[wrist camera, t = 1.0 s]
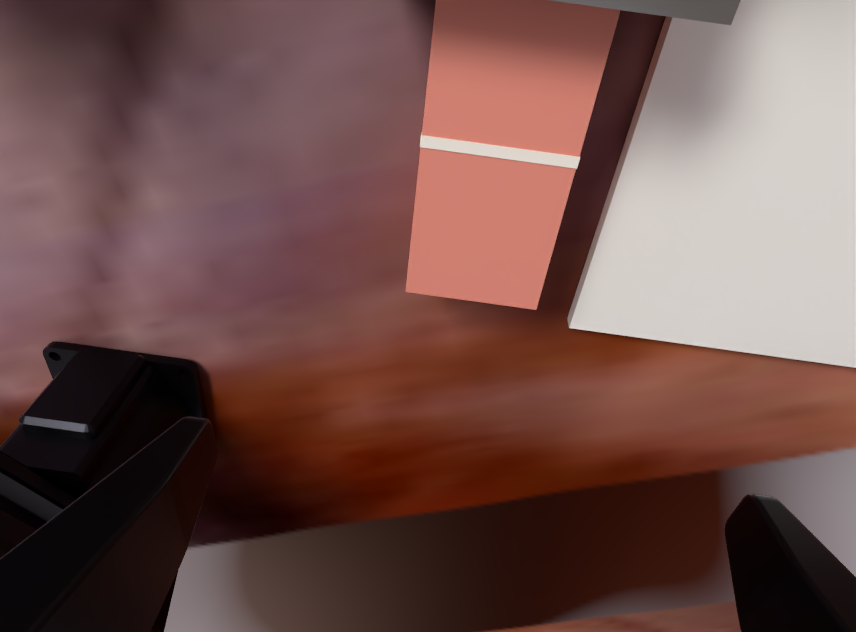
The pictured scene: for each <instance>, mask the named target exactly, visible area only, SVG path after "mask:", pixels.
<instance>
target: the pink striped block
mask: <svg viewBox="0 0 856 632" xmlns="http://www.w3.org/2000/svg"><path fill="white" fill-rule="evenodd" d="M620 11H621V10H616V9H609V8H602V7H594V6H587V5H580V4H573V3H565V2H558V1H551V0H436V4H435V14H434V23H433V33H432V43H431V52H430V62H429V71H428V81H427V91H426V100H425V110H424V119H423V129H422V133H421V140H420V147H421V148H420V158H419V168H418V177H417V187H416V196H415V206H414V216H413V225H412V235H411V244H410V254H409V264H408V273H407V283H406V292H410V293H418V294H425V295H432V296H439V297H447V298H454V299H461V300H468V301H475V302H483V303H490V304H497V305H504V306H512V307H519V308H526V309H533V310H536V309H537V306H538V302H539V298H540V295H541V291H542V288H543V284H544V281H545V277H546V274H547V270H548V267H549V263H550V259H551V256H552V252H553V249H554V245H555V242H556V238H557V235H558V231H559V227H560V224H561V220H562V217H563V213H564V210H565V206H566V203H567V199H568V195H569V192H570V188H571V185H572V181H573V178H574V174H575V171H576V169H577V168H578V164H579V161H580V153H581V149H582V146H583V142H584V139H585V135H586V132H587V128H588V124H589V121H590V117H591V114H592V110H593V107H594V103H595V100H596V96H597V93H598V89H599V85H600V82H601V78H602V75H603V71H604V68H605V64H606V61H607V57H608V53H609V50H610V46H611V43H612V39H613V36H614V32H615V29H616V25H617V22H618V18H619V14H620Z"/></svg>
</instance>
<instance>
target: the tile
mask: <svg viewBox="0 0 856 632" xmlns="http://www.w3.org/2000/svg"><path fill="white" fill-rule="evenodd" d="M567 320H568V325H569V328H573V329H580V330H587V331H594V332H602V333H609V334H616V335H623V336H630V337H638V338H645V339H652V340H659V341H666V342H674V343H681V344H688V345H695V346H703V347H710V348H717V349H724V350H731V351H739V352H746V353H753V354H760V355H767V356H775V357H782V358H789V359H796V360H803V361H811V362H818V363H825V364H832V365H840V366H847V367H854V368H856V0H741V1H740V3H739V6H738V9H737V11H736V14H735V16H734V19H733V21H732V24H731V25H725V24H718V23H710V22H703V21H696V20H689V19H681V18H674V17H667V16H666V17H665V21H664V24H663V27H662V30H661V33H660V36H659V39H658V42H657V45H656V48H655V51H654V54H653V57H652V60H651V63H650V66H649V69H648V73H647V76H646V79H645V82H644V85H643V88H642V91H641V94H640V97H639V100H638V103H637V106H636V109H635V112H634V115H633V118H632V121H631V125H630V128H629V131H628V134H627V137H626V140H625V143H624V146H623V149H622V152H621V155H620V158H619V161H618V164H617V167H616V170H615V174H614V177H613V180H612V183H611V186H610V189H609V192H608V195H607V198H606V201H605V204H604V207H603V210H602V213H601V216H600V219H599V222H598V226H597V229H596V232H595V235H594V238H593V241H592V244H591V247H590V250H589V253H588V256H587V259H586V262H585V265H584V268H583V271H582V275H581V278H580V281H579V284H578V287H577V290H576V293H575V296H574V299H573V302H572V305H571V308H570V311H569V314H568V317H567Z"/></svg>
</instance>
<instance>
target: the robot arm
mask: <svg viewBox="0 0 856 632" xmlns="http://www.w3.org/2000/svg"><path fill="white" fill-rule="evenodd" d="M43 356H44V358H45V360H46V363H47V365H48V368H49V370H50V373H51V375H52V378H53V380H52V381H51V382H50V384H49V385H48V386H47V387H46V388H45V389H44V390H43V391H42V393H41V394H40V395H39V396H38V397H37V398H36V399H35V401H34V402H33V403H32V404H31V405H30V406H29V407H28V409H27V410H26V411H25V412H24V413H23V414H22V415H21V417H20V419H19V421H20V424H19V426H18V427H17V428H16V429H15V430H14V431H13V432H12V434H11V435H10V436H9V437H8V438H7V439H6V441H5V442H4V443H3V444H2V445H1V446H0V632H164V628H165V624H166V619H167V616H168V611H169V607H170V602H171V598H172V594H173V590H174V585H175V581H176V577H177V573H178V569H179V567H180V565H181V562H182V560H183V558H184V555H185V553H186V550H187V548H188V545H189V542H190V539H191V536H192V533H193V530H194V527H195V524H196V521H197V518H198V515H199V512H200V509H201V506H202V503H203V500H204V497H205V494H206V490H207V487H208V484H209V481H210V478H211V475H212V472H213V469H214V466H215V462H216V457H217V449H216V443H215V438H214V432H213V427H212V423H211V422H210V420H209V419H207V415H206V410H205V404H204V399H203V394H202V388H201V383H200V378H199V372H198V368H197V366H196V365H195V364H194V363H193V362H191V361H189V360H185V359H179V358H172V357H165V356H157V355H150V354H143V353H136V352H129V351H121V350H114V349H107V348H100V347H93V346H85V345H78V344H71V343H64V342H51V343H49V345H48V346H47V347H46V348H45V349H44V350H43ZM183 370H184V371H183ZM185 371H186V372H185ZM725 538H726V544H727V551H728V557H729V563H730V569H731V575H732V582H733V588H734V594H735V601H736V607H737V613H738V618H739V623H740V628H741V632H856V577H855V576H854V575H853V574H852V573H851V572H850V571H849V570H848V569H847V568H846V567H845V566H844V565H843V564H842V563H841V562H840V561H839V560H838V559H837V558H836V557H835V556H834V555H833V554H832V553H831V552H830V551H829V550H828V549H827V548H826V547H825V546H824V545H823V544H822V543H821V542H820V541H819V540H818V539H817V538H816V537H815V536H814V535H813V534H812V533H811V532H810V531H809V530H808V529H807V528H806V527H805V526H804V525H803V524H802V523H801V522H800V521H799V520H798V519H797V518H796V517H795V516H794V515H793V514H792V513H791V512H790V511H789V510H788V509H787V508H786V507H785V506H784V505H783V504H782V503H781V502H780V501H779V500H777V499H776V498H774V497H772V496H767V495H759V494H748V495H746V496H745V497H744V498H743V499H742V501H741V502H740V503H739V505H738V506H737V507H736V509H735V510H734V511H733V513H732V514H731V515H730V517H729V518H728V520H727V522H726V525H725Z"/></svg>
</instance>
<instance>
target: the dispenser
mask: <svg viewBox="0 0 856 632" xmlns="http://www.w3.org/2000/svg"><path fill="white" fill-rule="evenodd" d="M551 1H558V2H565V3H573V4H580V5H587V6H594V7H602V8H609V9H616V10H623V11H631V12H638V13H645V14H652V15H660V16H667V17H674V18H681V19H689V20H696V21H703V22H710V23H718V24H725V25H731V24H732V21H733V19H734V16H735V14H736V11H737V9H738V6H739V3H740V1H741V0H551Z"/></svg>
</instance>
